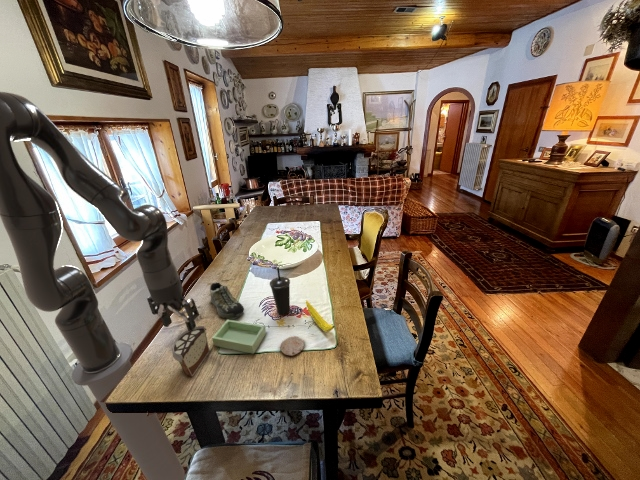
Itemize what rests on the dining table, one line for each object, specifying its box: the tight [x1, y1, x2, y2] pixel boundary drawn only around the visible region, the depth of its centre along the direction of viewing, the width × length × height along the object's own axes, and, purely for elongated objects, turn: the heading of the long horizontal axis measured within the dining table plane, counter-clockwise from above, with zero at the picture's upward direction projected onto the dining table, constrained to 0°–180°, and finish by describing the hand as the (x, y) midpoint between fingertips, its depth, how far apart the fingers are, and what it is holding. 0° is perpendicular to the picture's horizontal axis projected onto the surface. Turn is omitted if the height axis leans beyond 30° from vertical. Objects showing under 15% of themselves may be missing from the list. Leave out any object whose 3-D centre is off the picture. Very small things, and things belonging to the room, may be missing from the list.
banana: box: [305, 300, 336, 332], centre depth 92 cm, size 3×19×6 cm, turn 32°
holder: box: [211, 319, 267, 355], centre depth 87 cm, size 15×9×4 cm, turn 75°
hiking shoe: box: [209, 282, 245, 320], centre depth 102 cm, size 8×21×9 cm, turn 47°
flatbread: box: [279, 335, 305, 357], centre depth 84 cm, size 8×8×1 cm
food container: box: [171, 325, 210, 378], centre depth 78 cm, size 12×6×10 cm, turn 171°
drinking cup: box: [269, 266, 291, 316], centre depth 96 cm, size 8×8×20 cm
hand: (180, 327), depth 74 cm, fingers open, 8 cm apart
